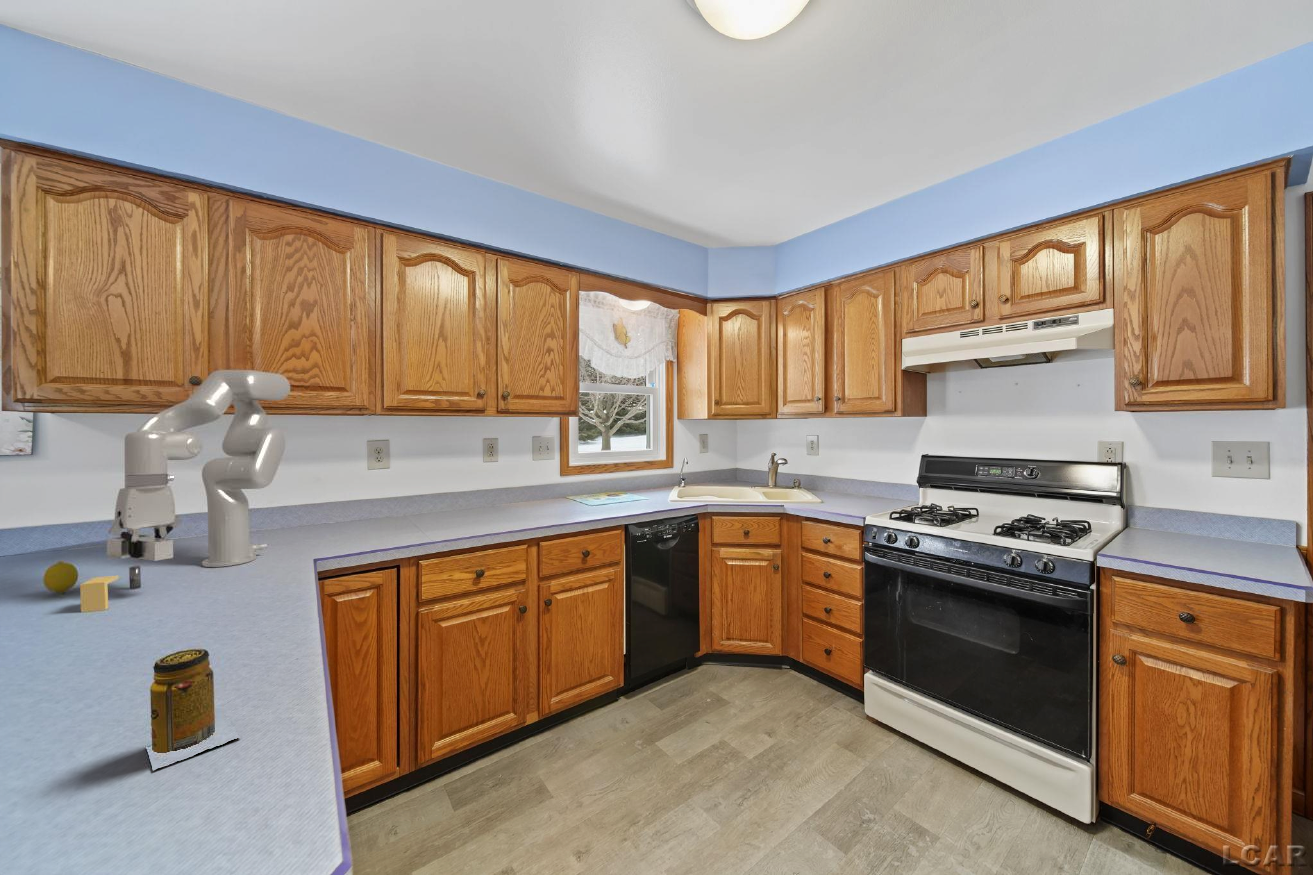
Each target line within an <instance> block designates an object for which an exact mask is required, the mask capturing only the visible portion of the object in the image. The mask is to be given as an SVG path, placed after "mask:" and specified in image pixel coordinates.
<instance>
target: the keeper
mask: <svg viewBox="0 0 1313 875" xmlns="http://www.w3.org/2000/svg"><path fill="white" fill-rule="evenodd" d="M116 580H119V575H108V576H97V577H96V576H95V577H93V578H91V579H89V580H87V581H85V582H83V583H81V584H79V585H80V586H79V588H80V612H81V613H88V612H98V611H106V610H108V609H109V594H108V593H109V591H108V590H109V589H108V586H109V585H108V584H109V583H112V582H114V581H116Z"/></svg>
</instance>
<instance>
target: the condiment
mask: <svg viewBox="0 0 1313 875" xmlns="http://www.w3.org/2000/svg"><path fill="white" fill-rule="evenodd" d="M209 653H210V652H208V650H207V649H205V648H192V649H185V650H180V651H176V652H173V653H170V654H167V655H165V656H163V657H161V658H159V659H158V660H156V661H155V663H154V665H153V666H152V668H153V672H154V673H153V680H154V681H153V682H152V683H151V684H150V687H149V688H150V689H149V692H150V725H151V733H150V734H151V746H152V750H153V751H154V752H157V753H167V752H170V751H177V750H180V749H186V748H188V747H191V746H193V745H196V744H199V743H200V742H202V741H203V740H206V739H207V738H209V737H210V736H211V735H213V733H214V732H215V723H216V721H215V719H216V717H215V716H216V715H215V708H216V707H215V683H214V680H215V679H214V671H213V669H212V668H211V667H210V665H211V662H210V660H209V656H210V654H209Z"/></svg>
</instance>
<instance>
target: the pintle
mask: <svg viewBox="0 0 1313 875" xmlns="http://www.w3.org/2000/svg"><path fill="white" fill-rule="evenodd" d="M128 571H129V572H128V573H129V575H128V576H129V577H128V578H129V579H128V580H129V581H128V582H129V590H137V589H140V588H142V581H141V580H142V579H141V577H142V576H141V565H132V566H129V567H128Z"/></svg>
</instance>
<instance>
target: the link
mask: <svg viewBox="0 0 1313 875" xmlns="http://www.w3.org/2000/svg"><path fill="white" fill-rule="evenodd" d="M138 541H140V542H141V557H140V558H138V559H140V560H146V561H152V562H157V561H161V560H169V559H173V558H174V540H173V539H170V538H164V539H163V538H155V534H145V533H139V537H138ZM106 557H110V558H118V559H125V558H126V559H127V558H132V557H131V556H130V555H129V553H128V541H126V540H125V539H123V538H122V537H120V536H116V537H115V536H114V537H109V538H106Z"/></svg>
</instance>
